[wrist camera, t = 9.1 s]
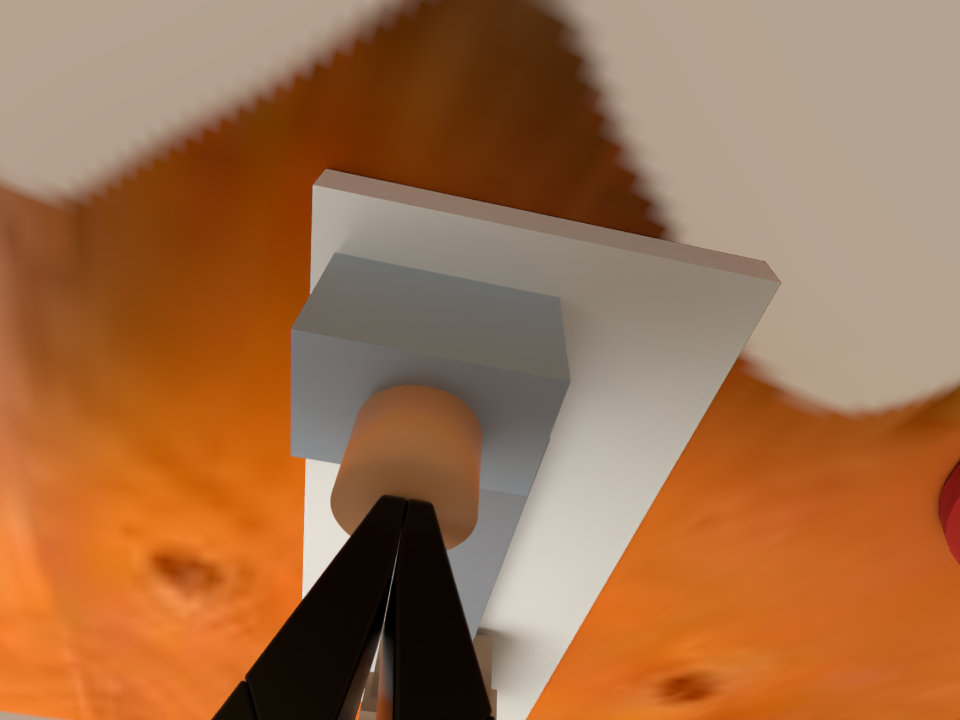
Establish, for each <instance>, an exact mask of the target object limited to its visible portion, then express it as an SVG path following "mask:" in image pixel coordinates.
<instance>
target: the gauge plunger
mask: <svg viewBox="0 0 960 720" xmlns="http://www.w3.org/2000/svg"><path fill="white" fill-rule="evenodd" d="M482 437H483V433H482V428H481V425H480V422H479V420H478V418H477V416H476V415H475V413H474V412H473V411H472V409H471V408H470V407H469V406H468V405H467V404H466V403H464V402H463V401H462V400H460V399H459V398H457V397H456V396H454V395H452V394H450V393H448V392H446V391H443V390H440V389H438V388H434V387H430V386H423V385H400V386H395V387H391V388H388V389H385V390H382V391H380V392H378V393H376V394H375V395H373V396H371V397H370V398H369V399H368V400H367V401H366V402H365V403H364V404H363V405H362V406H361V408H360V410H359V411H358V414H357V416H356V419H355V422H354V425H353V429H352V432H351V435H350V438H349V441H348V444H347V447H346V450H345V453H344V456H343V459H342V462H341V465H340V468H339V471H338V474H337V477H336V481H335V484H334V487H333V490H332V493H331V498H330V506H331V510H332V513H333V516H334V518H335V520H336V521H337V523H338V524H339V525H340V527H341V528H342V529H343V530H344V531H345V532H346V533H347V534H348V535H350V536H351V535H352V533H353V532H354V531H355V529H356V528H357V527H358V525H359V524H360V523H361V521H362V520H363V519H364V517H365V516H366V515H367V513H368V512H369V511H370V510H371V508H372V507H373V506H374V504H375V503H376V502H377V500H378V499H379V498H380V497H381V496H382V495H392V496H398V497H403V498H405V499H406V501H408V500H410V499H416V500H422V501H428V502H431V503H432V504H433V506H434V508H435V512H436V515H437V519H438V522H439V526H440V529H441V533H442V536H443V540H444V543H445V547H446V550H447V551H448V550H450V549H452V548H454V547H456V546H458V545H459V544H461V543H462V542H464V541H465V540H466V539H467V538H468V537H469V536H470V535H471V533H472V532H473V530H474V529H475V526H476V524H477V519H478V506H479V489H480V473H481V456H482ZM406 505H407V503H406ZM405 510H406V509H405ZM404 515H405V514H404ZM403 521H404V519H403ZM402 526H403V524H402ZM401 531H402V530H401ZM400 536H401V535H400ZM399 542H400V540H399ZM398 547H399V546H398ZM397 552H398V551H397Z"/></svg>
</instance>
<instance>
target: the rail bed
mask: <svg viewBox="0 0 960 720" xmlns="http://www.w3.org/2000/svg"><path fill="white" fill-rule="evenodd" d="M780 284H781V281H780V280H779V279H778V278H777V276H776V275H775V274H774V272H773V271H772V270H771V269H770V267H769V266H768V265H767V264H766V262H765V261H760V260H755V259H751V258H746V257H741V256H737V255H732V254H727V253H723V252H718V251H713V250H708V249H703V248H699V247H694V246H689V245H685V244H680V243H675V242H671V241H666V240H661V239H656V238H652V237H647V236H642V235H637V234H633V233H628V232H623V231H618V230H614V229H609V228H604V227H600V226H595V225H590V224H585V223H581V222H576V221H571V220H566V219H562V218H557V217H552V216H548V215H543V214H538V213H533V212H529V211H524V210H519V209H514V208H510V207H505V206H500V205H495V204H491V203H486V202H481V201H477V200H472V199H467V198H462V197H458V196H453V195H448V194H443V193H439V192H434V191H429V190H425V189H420V188H415V187H410V186H406V185H401V184H396V183H391V182H387V181H382V180H377V179H372V178H368V177H363V176H358V175H354V174H349V173H344V172H339V171H335V170H330V169H325V170H324V172H323V173H322V174H321V175H320V177H319V178H318V179H317V180H316V181H315V183H314V184H313V196H312V236H311V275H310V297H309V298H308V300H307V302H306V304H305V305H304V307H303V309H302V311H301V312H300V314H299V316H298V318H297V319H296V321H295V323H294V325H293V327H292V328H291V456H294V457H300V458H306V474H305V514H304V553H303V593H302V600H303V598H304V597H305V596H306V594H307V593H308V592H309V590H310V589H311V588H312V586H313V585H314V584H315V582H316V581H317V580H318V578H319V577H320V576H321V574H322V573H323V572H324V571H325V569H326V568H327V567H328V565H329V564H330V563H331V561H332V560H333V559H334V557H335V556H336V555H337V553H338V552H339V551H340V549H341V548H342V547H343V545H344V544H345V543H346V541H347V540H348V539H349V537H350V535H348V534H347V533H346V532H345V531H344V530H343V529H342V528H341V527H340V525H339V524H338V523H337V521H336V520H335V518H334V516H333V513H332V510H331V506H330V498H331V493H332V490H333V487H334V484H335V481H336V477H337V474H338V471H339V468H340V465H341V462H342V459H343V456H344V453H345V450H346V447H347V444H348V441H349V438H350V435H351V432H352V429H353V425H354V422H355V419H356V416H357V414H358V411H359V410H360V408H361V406H362V405H363V404H364V403H365V402H366V401H367V400H368V399H369V398H370V397H371V396H373V395H375V394H376V393H378V392H380V391H382V390H385V389H388V388H391V387H395V386H400V385H423V386H430V387H434V388H438V389H440V390H443V391H446V392H448V393H450V394H452V395H454V396H456V397H457V398H459V399H460V400H462V401H463V402H464V403H466V404H467V405H468V406H469V407H470V408H471V409H472V411H473V412H474V413H475V415H476V416H477V418H478V420H479V422H480V425H481V428H482V433H483V437H482V456H481V473H480V489H479V506H478V519H477V524H476V526H475V529H474V530H473V532H472V533H471V535H470V536H469V537H468V538H467V539H466V540H465V541H464V542H462V543H461V544H459V545H458V546H456V547H454V548H452V549H450V550H448V551H447V554H448V557H449V561H450V564H451V568H452V571H453V575H454V578H455V582H456V585H457V589H458V592H459V596H460V599H461V603H462V606H463V609H464V613H465V616H466V620H467V623H468V627H469V630H470V634H471V637H472V641H473V640H474V638H475V635H476V634H477V635H484V636H491V637H493V649H492V684H491V689H496V690H497V719H496V720H526V718H527V716H528V715H529V713H530V711H531V709H532V708H533V706H534V704H535V703H536V701H537V699H538V697H539V696H540V694H541V692H542V691H543V689H544V687H545V686H546V684H547V682H548V680H549V679H550V677H551V675H552V674H553V672H554V670H555V668H556V667H557V665H558V663H559V662H560V660H561V658H562V656H563V655H564V653H565V651H566V650H567V648H568V646H569V645H570V643H571V641H572V639H573V638H574V636H575V634H576V633H577V631H578V629H579V627H580V626H581V624H582V622H583V621H584V619H585V617H586V616H587V614H588V612H589V610H590V609H591V607H592V605H593V604H594V602H595V600H596V598H597V597H598V595H599V593H600V592H601V590H602V588H603V586H604V585H605V583H606V581H607V580H608V578H609V576H610V575H611V573H612V571H613V569H614V568H615V566H616V564H617V563H618V561H619V559H620V557H621V556H622V554H623V552H624V551H625V549H626V547H627V546H628V544H629V542H630V540H631V539H632V537H633V535H634V534H635V532H636V530H637V528H638V527H639V525H640V523H641V522H642V520H643V518H644V516H645V515H646V513H647V511H648V510H649V508H650V506H651V505H652V503H653V501H654V499H655V498H656V496H657V494H658V493H659V491H660V489H661V487H662V486H663V484H664V482H665V481H666V479H667V477H668V476H669V474H670V472H671V470H672V469H673V467H674V465H675V464H676V462H677V460H678V458H679V457H680V455H681V453H682V452H683V450H684V448H685V446H686V445H687V443H688V441H689V440H690V438H691V436H692V435H693V433H694V431H695V429H696V428H697V426H698V424H699V423H700V421H701V419H702V417H703V416H704V414H705V412H706V411H707V409H708V407H709V406H710V404H711V402H712V400H713V399H714V397H715V395H716V394H717V392H718V390H719V388H720V387H721V385H722V383H723V382H724V380H725V378H726V376H727V375H728V373H729V371H730V370H731V368H732V366H733V365H734V363H735V361H736V359H737V358H738V356H739V354H740V353H741V351H742V349H743V347H744V346H745V344H746V342H747V341H748V339H749V337H750V336H751V334H752V332H753V330H754V329H755V327H756V325H757V323H758V322H759V320H760V318H761V317H762V315H763V313H764V312H765V310H766V308H767V306H768V305H769V303H770V301H771V300H772V298H773V296H774V295H775V293H776V291H777V289H778V288H779V286H780ZM396 558H397V556H396ZM395 563H396V562H395ZM394 568H395V567H394ZM393 573H394V572H393ZM392 579H393V577H392ZM391 584H392V583H391ZM390 589H391V588H390ZM389 595H390V593H389ZM388 600H389V598H388ZM387 605H388V604H387ZM386 610H387V609H386ZM385 616H386V614H385ZM384 621H385V619H384ZM380 638H381V636H380ZM379 643H380V640H379ZM378 649H379V644H378V647H377V650H376V654H375V657H374V660H373V663H372V666H371V670H370V672H374V670H375V665H376V659H377V654H378ZM364 690H365V689H364ZM363 695H364V692H363ZM363 695H362V698H361V702H362V700H363Z"/></svg>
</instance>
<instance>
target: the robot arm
mask: <svg viewBox="0 0 960 720" xmlns="http://www.w3.org/2000/svg"><path fill="white" fill-rule="evenodd" d="M406 503H407V505H406ZM405 509H406V510H405ZM404 514H405V515H404ZM403 519H404V521H403ZM402 524H403V526H402ZM401 530H402V531H401ZM400 535H401V536H400ZM399 540H400V542H399ZM398 546H399V547H398ZM397 551H398V552H397ZM396 556H397V558H396ZM395 562H396V563H395ZM394 567H395V568H394ZM393 572H394V573H393ZM392 577H393V579H392ZM391 583H392V584H391ZM390 588H391V589H390ZM389 593H390V595H389ZM388 598H389V600H388ZM387 604H388V605H387ZM386 609H387V610H386ZM385 614H386V616H385ZM384 619H385V622H384ZM383 624H384V628H383ZM382 628H383V635H382V645H381V657H380V671H379V686H378V700H377V714H376V720H495V717H494V716H493V715H491V713H492V707H491V704H490V700H489V697H488V693H487V690H486V686H485V683H484V679H483V676H482V672H481V669H480V665H479V662H478V658H477V655H476V651H475V648H474V644H473V641H472V637H471V634H470V630H469V627H468V623H467V620H466V616H465V613H464V609H463V606H462V603H461V599H460V596H459V592H458V589H457V585H456V582H455V578H454V575H453V571H452V568H451V564H450V561H449V557H448V554H447V550H446V547H445V543H444V540H443V536H442V533H441V529H440V526H439V522H438V519H437V515H436V512H435V508H434V506H433V504H432V503H431V502H428V501H422V500H416V499H410V500H408V501H406V499H405V498H403V497H398V496H392V495H382V496H381V497H380V498H379V499H378V500H377V502H376V503H375V504H374V506H373V507H372V508H371V510H370V511H369V512H368V513H367V515H366V516H365V517H364V519H363V520H362V521H361V523H360V524H359V525H358V527H357V528H356V529H355V531H354V532H353V533H352V535H351V536H350V537H349V539H348V540H347V541H346V543H345V544H344V545H343V547H342V548H341V549H340V551H339V552H338V553H337V555H336V556H335V557H334V559H333V560H332V561H331V563H330V564H329V565H328V567H327V568H326V569H325V571H324V572H323V573H322V574H321V576H320V577H319V578H318V580H317V581H316V582H315V584H314V585H313V586H312V588H311V589H310V590H309V592H308V593H307V594H306V596H305V597H304V598H303V600H302V601H301V602H300V604H299V605H298V606H297V608H296V609H295V610H294V612H293V613H292V614H291V616H290V617H289V618H288V620H287V621H286V622H285V624H284V625H283V626H282V628H281V629H280V630H279V632H278V633H277V634H276V636H275V637H274V638H273V639H272V641H271V642H270V643H269V645H268V646H267V647H266V649H265V650H264V651H263V653H262V654H261V655H260V657H259V658H258V659H257V661H256V662H255V663H254V665H253V666H252V667H251V669H250V670H249V671H248V673H247V674H246V675H245V681H241V682H240V683H239V684H238V685H237V687H236V688H235V689H234V691H233V692H232V693H231V695H230V696H229V697H228V699H227V700H226V701H225V703H224V704H223V705H222V707H221V708H220V709H219V710H218V712H217V713H216V714H215V715H214V717H213V718H212V719H211V720H355V718H356V715H357V711H358V708H359V705H360V702H361V698H362V695H363V692H364V689H365V686H366V682H367V679H368V676H369V673H370V670H371V666H372V663H373V660H374V657H375V654H376V650H377V647H378V644H379V640H380V636H381V633H382Z"/></svg>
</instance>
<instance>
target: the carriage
mask: <svg viewBox="0 0 960 720" xmlns="http://www.w3.org/2000/svg"><path fill="white" fill-rule="evenodd" d="M384 622H385V621H384ZM383 628H384V624H383ZM383 628H382V633H381V638H380V643H379V649H378V654H377V659H376V665H375V670H374V672H370V673H369V676H368V679H367V682H366V686H365V690H364V695H363V700H362V705H361V710H360V716H359V720H376V714H377V700H378V686H379V671H380V657H381V645H382V635H383ZM473 644H474V648H475V651H476V655H477V658H478V662H479V665H480V669H481V672H482V676H483V679H484V683H485V686H486V690H487V693H488V697H489V700H490V704H491V707H492V713H491V715H493V716H494V717H495V720H496V719H497V690H496V689H491V684H492V649H493V637H491V636H484V635H477V634H476V635H475V638H474V640H473Z"/></svg>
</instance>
